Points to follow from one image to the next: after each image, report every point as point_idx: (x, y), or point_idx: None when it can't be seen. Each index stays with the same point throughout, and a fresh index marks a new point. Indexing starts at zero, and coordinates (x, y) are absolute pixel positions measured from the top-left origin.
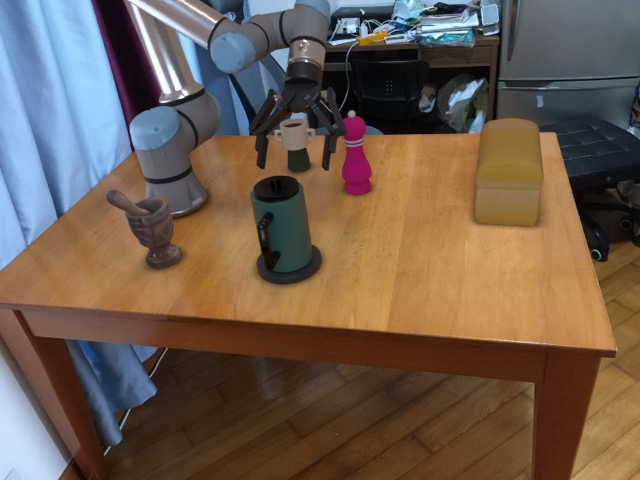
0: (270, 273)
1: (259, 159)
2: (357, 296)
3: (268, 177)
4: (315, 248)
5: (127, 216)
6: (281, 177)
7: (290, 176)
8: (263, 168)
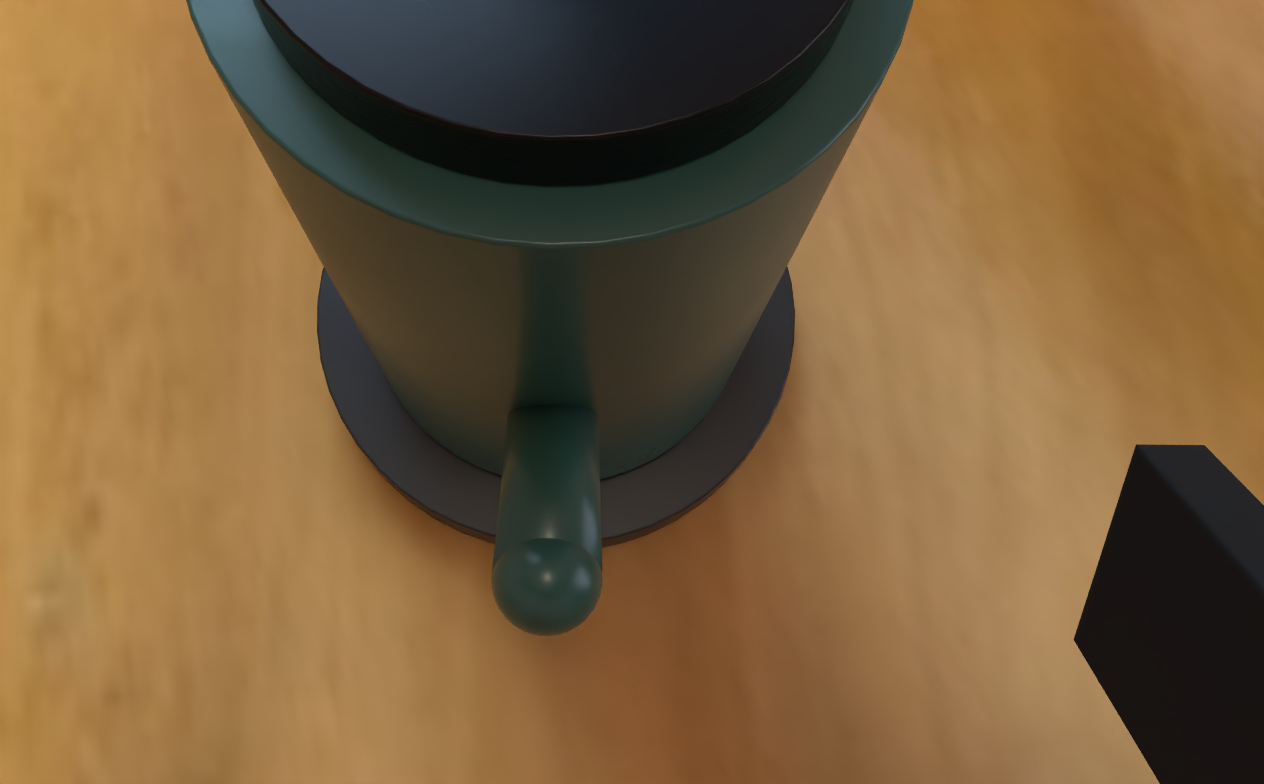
0: None
1: (1213, 511)
2: (27, 68)
3: (773, 58)
4: (383, 450)
5: None
6: (553, 66)
7: (410, 107)
8: (1088, 600)
